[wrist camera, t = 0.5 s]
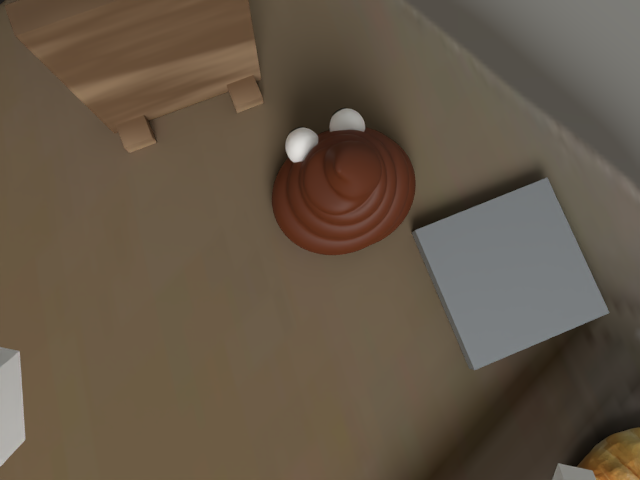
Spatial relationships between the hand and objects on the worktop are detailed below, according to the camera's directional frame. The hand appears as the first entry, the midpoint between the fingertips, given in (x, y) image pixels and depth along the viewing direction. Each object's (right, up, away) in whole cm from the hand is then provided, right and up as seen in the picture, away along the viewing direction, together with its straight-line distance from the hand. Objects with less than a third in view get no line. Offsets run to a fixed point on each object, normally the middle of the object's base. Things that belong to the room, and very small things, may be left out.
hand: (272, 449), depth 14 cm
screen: (-8, +15, +27) cm, 32 cm away
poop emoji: (+3, +8, +26) cm, 28 cm away
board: (+14, +3, +26) cm, 29 cm away
